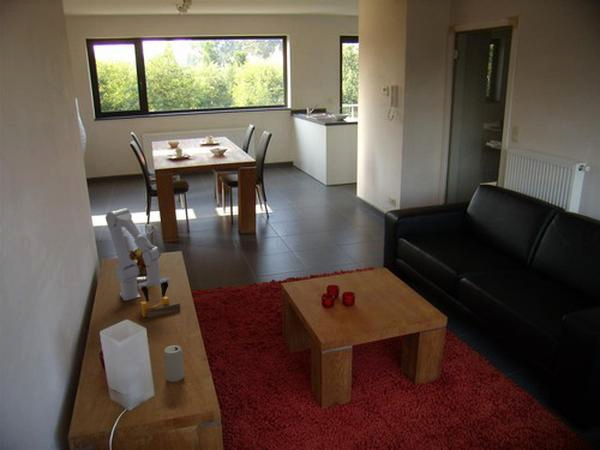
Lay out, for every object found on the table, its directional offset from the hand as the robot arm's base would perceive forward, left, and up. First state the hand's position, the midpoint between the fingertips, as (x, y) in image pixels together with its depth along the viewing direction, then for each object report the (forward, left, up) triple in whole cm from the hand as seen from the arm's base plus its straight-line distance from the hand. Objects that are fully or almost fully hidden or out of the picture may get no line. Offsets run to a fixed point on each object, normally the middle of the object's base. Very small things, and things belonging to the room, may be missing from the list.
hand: (155, 299), depth 239 cm
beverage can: (+65, -13, -3) cm, 66 cm away
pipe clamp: (+8, -3, -3) cm, 9 cm away
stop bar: (+12, 0, -3) cm, 12 cm away
